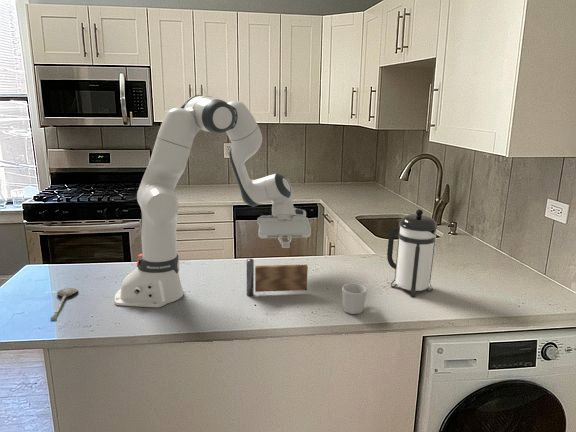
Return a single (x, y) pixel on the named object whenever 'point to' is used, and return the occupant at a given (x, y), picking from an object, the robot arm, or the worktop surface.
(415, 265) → the coffee press
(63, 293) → the soupspoon
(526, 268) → the worktop surface
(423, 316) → the worktop surface
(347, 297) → the cup
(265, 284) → the gate
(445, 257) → the worktop surface
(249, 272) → the gate post
